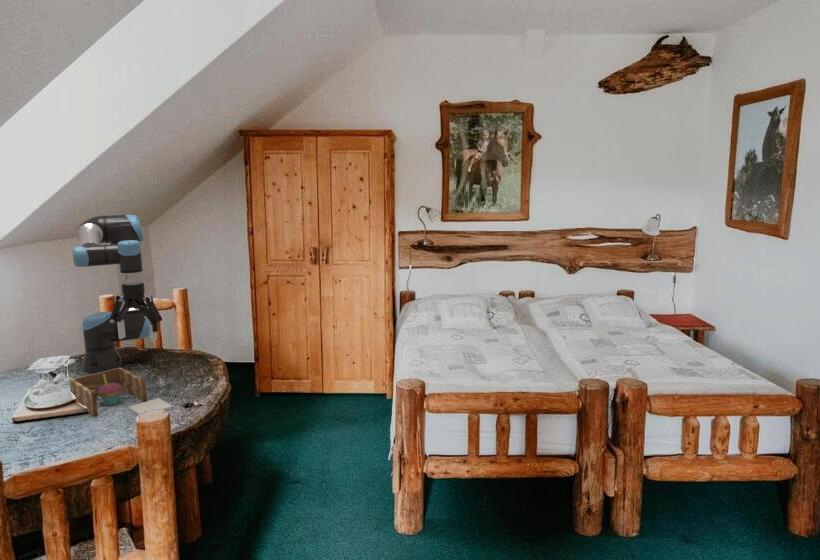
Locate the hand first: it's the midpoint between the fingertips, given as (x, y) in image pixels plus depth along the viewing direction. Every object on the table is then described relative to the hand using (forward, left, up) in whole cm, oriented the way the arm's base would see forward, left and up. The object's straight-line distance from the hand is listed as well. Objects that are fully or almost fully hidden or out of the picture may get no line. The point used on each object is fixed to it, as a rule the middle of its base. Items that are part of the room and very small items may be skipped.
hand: (138, 339), depth 225 cm
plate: (+15, -4, -22) cm, 27 cm away
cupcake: (-2, -11, -22) cm, 25 cm away
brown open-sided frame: (-4, -11, -22) cm, 25 cm away
